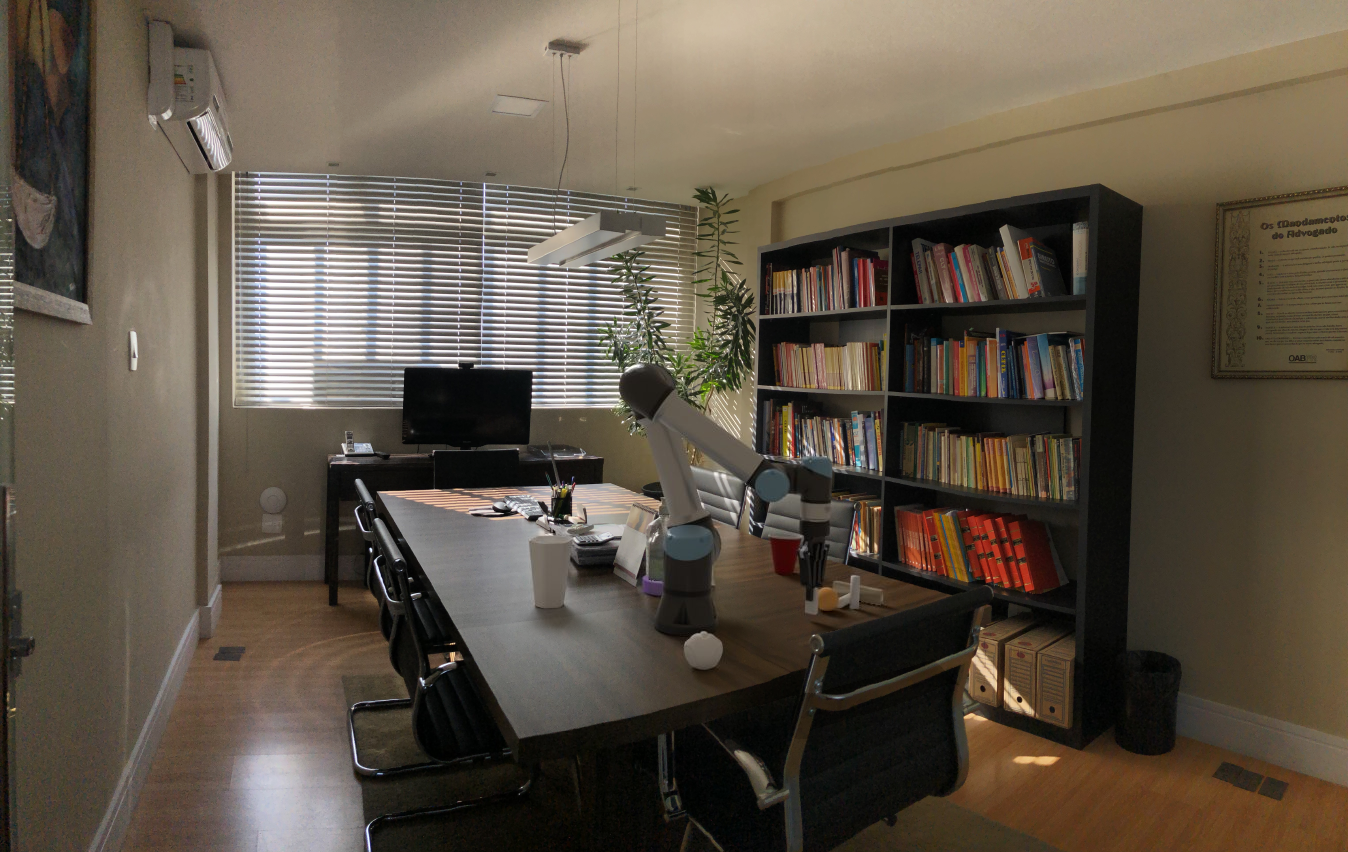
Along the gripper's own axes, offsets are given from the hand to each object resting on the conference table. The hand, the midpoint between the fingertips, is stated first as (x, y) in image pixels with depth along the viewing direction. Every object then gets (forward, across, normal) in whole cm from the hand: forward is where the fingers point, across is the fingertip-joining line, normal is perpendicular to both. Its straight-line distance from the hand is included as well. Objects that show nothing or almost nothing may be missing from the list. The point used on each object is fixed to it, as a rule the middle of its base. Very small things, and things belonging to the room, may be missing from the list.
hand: (811, 612), depth 200 cm
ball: (-1, +11, +1) cm, 11 cm away
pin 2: (+2, +18, -3) cm, 18 cm away
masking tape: (+2, -4, +45) cm, 45 cm away
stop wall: (+2, +26, 0) cm, 26 cm away
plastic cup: (+2, +40, +31) cm, 50 cm away
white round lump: (+2, -46, 0) cm, 46 cm away
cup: (+2, -36, +56) cm, 67 cm away
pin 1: (+1, +15, 0) cm, 15 cm away
